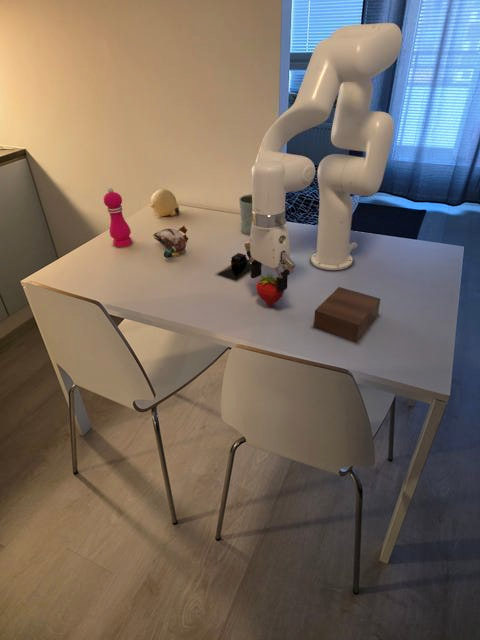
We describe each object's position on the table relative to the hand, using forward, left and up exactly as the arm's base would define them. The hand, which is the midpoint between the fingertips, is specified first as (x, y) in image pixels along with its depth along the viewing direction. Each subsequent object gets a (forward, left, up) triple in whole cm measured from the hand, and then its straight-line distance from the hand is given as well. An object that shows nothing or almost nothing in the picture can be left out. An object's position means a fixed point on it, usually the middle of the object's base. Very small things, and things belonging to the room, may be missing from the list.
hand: (268, 283), depth 104 cm
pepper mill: (+10, -67, -7) cm, 68 cm away
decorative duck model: (+2, -48, -7) cm, 49 cm away
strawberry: (-1, 0, -7) cm, 7 cm away
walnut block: (-10, +18, -7) cm, 22 cm away
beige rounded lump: (-16, -81, -7) cm, 83 cm away
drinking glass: (-31, -42, -7) cm, 53 cm away
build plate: (-8, -22, -7) cm, 24 cm away
